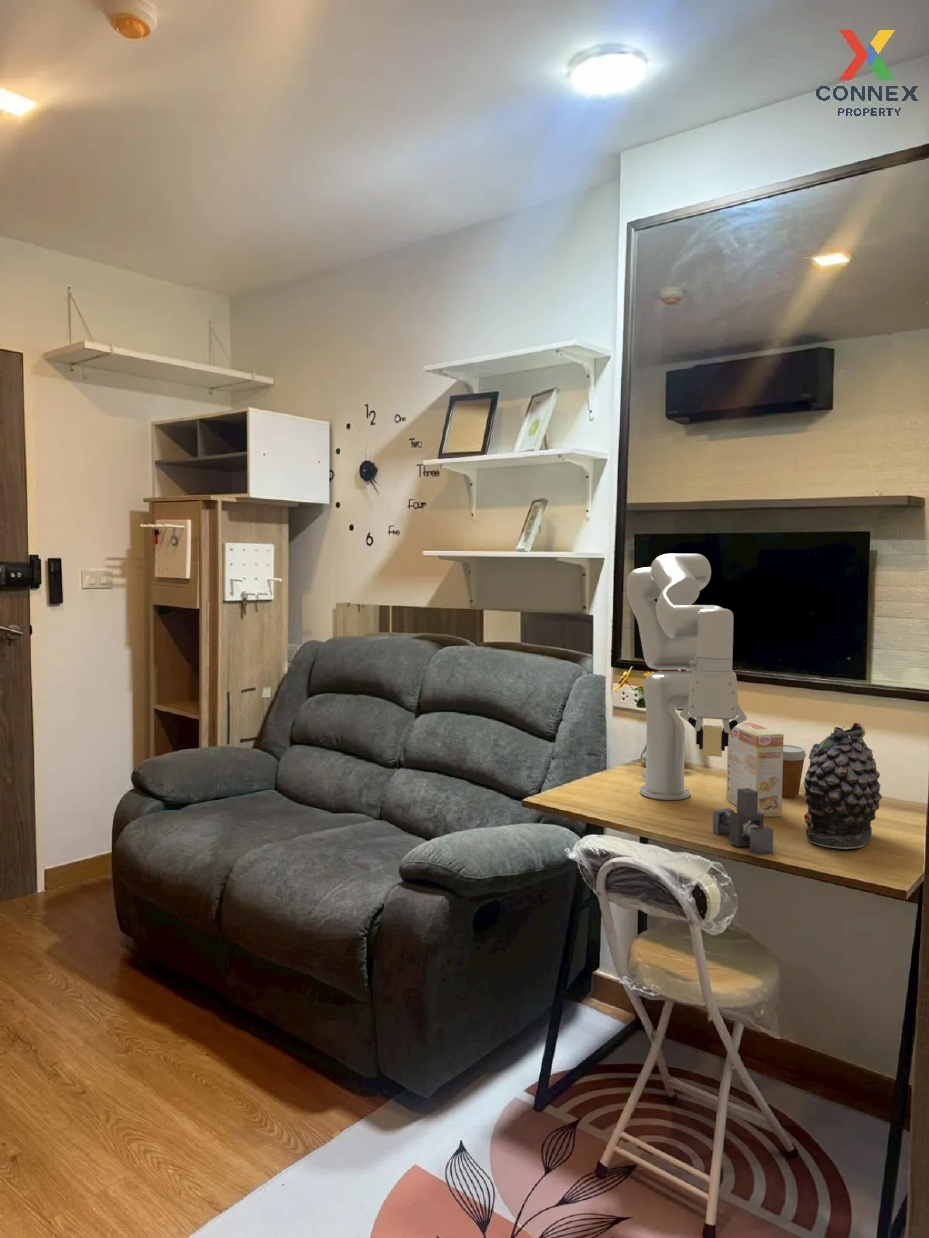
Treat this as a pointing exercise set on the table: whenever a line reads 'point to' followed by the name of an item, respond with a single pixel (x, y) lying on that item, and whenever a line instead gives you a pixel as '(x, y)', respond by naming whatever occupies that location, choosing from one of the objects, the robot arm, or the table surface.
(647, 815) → the table surface
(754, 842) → the grey shaft with blocks
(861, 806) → the pinecone sculpture
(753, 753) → the coffeecake box
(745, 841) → the grey bracket
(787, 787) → the disposable coffee cup
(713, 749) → the pale yellow rectangular block
